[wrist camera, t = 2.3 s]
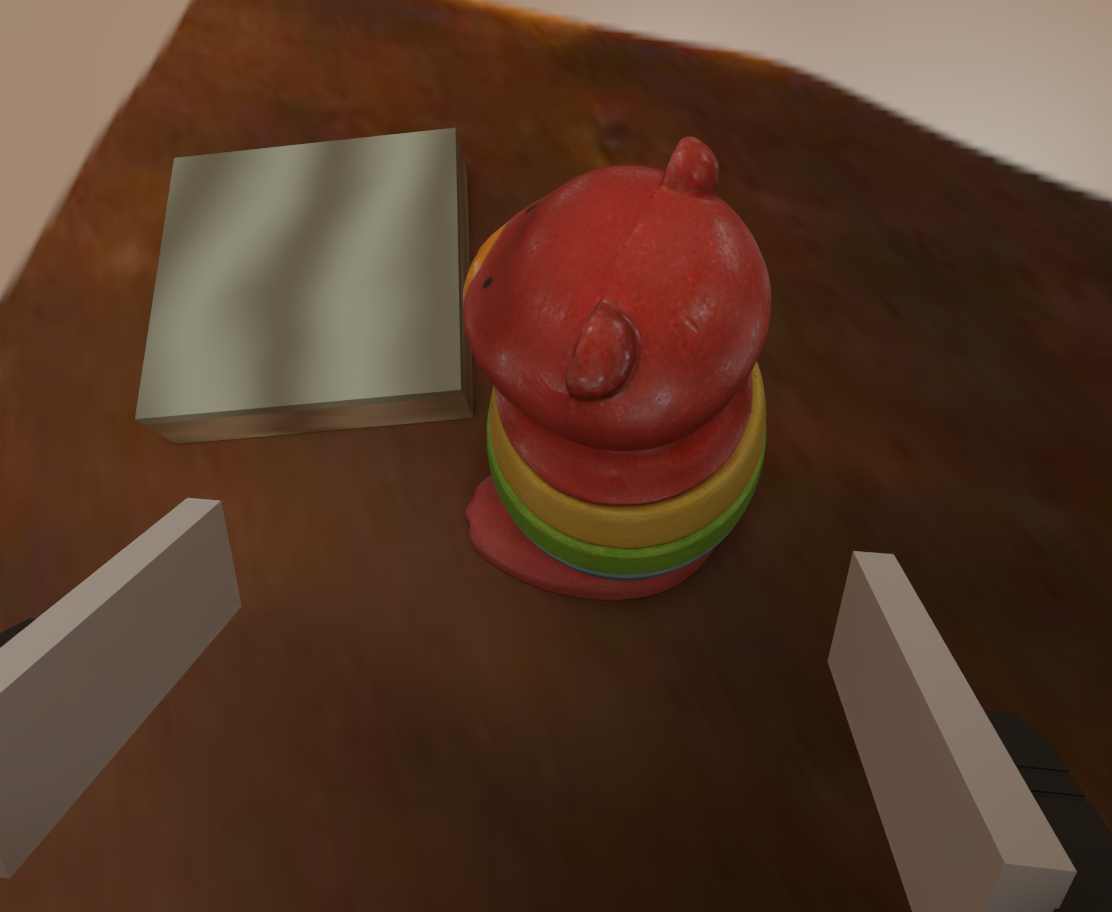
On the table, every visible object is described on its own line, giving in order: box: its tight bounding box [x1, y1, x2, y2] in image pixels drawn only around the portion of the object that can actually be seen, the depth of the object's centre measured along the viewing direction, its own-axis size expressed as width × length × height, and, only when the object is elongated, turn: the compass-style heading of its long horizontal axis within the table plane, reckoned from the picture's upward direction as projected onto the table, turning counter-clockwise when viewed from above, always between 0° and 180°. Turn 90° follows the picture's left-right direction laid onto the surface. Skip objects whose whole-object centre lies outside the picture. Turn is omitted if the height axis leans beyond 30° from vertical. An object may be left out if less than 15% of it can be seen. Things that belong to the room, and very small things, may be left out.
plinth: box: [135, 128, 474, 444], centre depth 34 cm, size 14×14×3 cm
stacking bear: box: [463, 137, 771, 600], centre depth 23 cm, size 11×10×18 cm
